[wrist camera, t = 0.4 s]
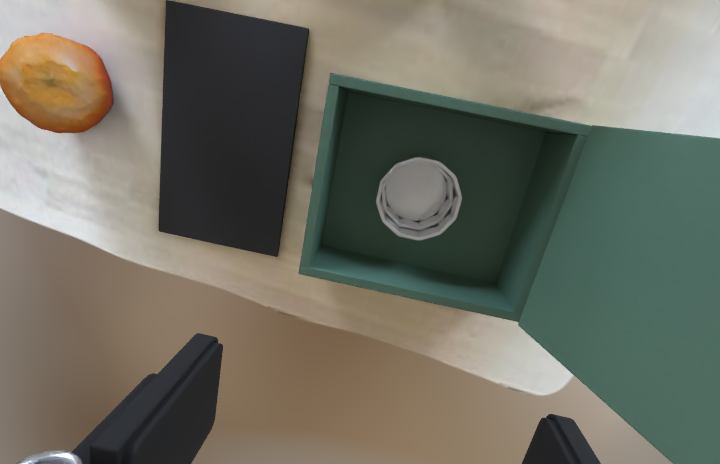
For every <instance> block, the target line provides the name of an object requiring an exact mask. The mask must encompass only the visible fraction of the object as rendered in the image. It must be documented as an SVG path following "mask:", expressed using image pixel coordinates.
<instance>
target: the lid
mask: <svg viewBox="0 0 720 464" xmlns="http://www.w3.org/2000/svg"><path fill="white" fill-rule="evenodd" d="M518 325H519V326H520V327H521V328H522V329H523V330H524V331H525V332H526V333H528V334H529V335H530V336H531V337H532V338H533V339H534V340H535V341H536V342H538V343H539V344H540V345H541V346H542V347H543V348H544V349H545V350H547V351H548V352H549V353H550V354H551V355H552V356H553V357H554V358H555V359H557V360H558V361H559V362H560V363H561V364H562V365H563V366H564V367H566V368H567V369H568V370H569V371H570V372H571V373H572V374H573V375H575V376H576V377H577V378H578V379H579V380H580V381H581V382H582V383H583V384H585V385H586V386H587V387H588V388H589V389H590V390H591V391H592V392H594V393H595V394H596V395H597V396H598V397H599V398H600V399H601V400H602V401H604V402H605V403H606V404H607V405H608V406H609V407H610V408H611V409H613V410H614V411H615V412H616V413H617V414H618V415H619V416H620V417H622V418H623V419H624V420H625V421H626V422H627V423H628V424H629V425H631V426H632V427H633V428H634V429H635V430H636V431H637V432H638V433H639V434H641V435H642V436H643V437H644V438H645V439H646V440H647V441H649V443H651V444H652V445H653V446H654V447H655V448H656V449H657V450H658V451H660V452H661V453H662V454H663V455H664V456H665V457H666V458H667V459H668V460H670V461H671V462H672V463H673V464H720V138H711V137H701V136H692V135H682V134H672V133H663V132H653V131H643V130H633V129H624V128H614V127H604V126H594V125H593V126H592V127H591V129H590V132H589V135H588V138H587V140H586V143H585V146H584V148H583V151H582V154H581V156H580V159H579V162H578V164H577V167H576V170H575V173H574V175H573V178H572V181H571V183H570V186H569V189H568V191H567V194H566V197H565V200H564V202H563V205H562V208H561V210H560V213H559V216H558V218H557V221H556V224H555V226H554V229H553V232H552V235H551V237H550V240H549V243H548V245H547V248H546V251H545V253H544V256H543V259H542V262H541V264H540V267H539V270H538V272H537V275H536V278H535V280H534V283H533V286H532V288H531V291H530V294H529V297H528V299H527V302H526V305H525V307H524V310H523V313H522V315H521V318H520V321H519V323H518Z"/></svg>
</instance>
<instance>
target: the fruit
mask: <svg viewBox="0 0 720 464" xmlns="http://www.w3.org/2000/svg"><path fill="white" fill-rule="evenodd" d="M0 85H1V88H2V90H3V92H4V94H5V95H6V97H7V99H8V100H9V102H10V103H11V105H12V106H13V107H14V108H15V110H16V111H17V112H18V113H19V114H20V115H21V116H22V117H24V118H26V119H27V120H29V121H30V122H31V123H32V124H34V125H35V126H37V127H39V128H41V129H45V130H48V131H52V132H55V133H79V132H84V131H87V130H88V129H90V128H92V127H93V126H95V125H96V124H98V123H99V122H100V121H101V120H102V119H103V118H104V117H105V115H106V114H107V113H108V112H109V110H110V109H111V107H112V105H113V92H112V86H111V81H110V78H109V75H108V73H107V71H106V68H105V66H104V63H103V61H102V59H101V58H100V56H99V55H98V54H97V53H96V52H95V51H93V50H92V49H90V48H89V47H87V46H84V45H81V44H79V43H76V42H74V41H71V40H68V39H65V38H62V37H59V36H56V35H53V34H49V33H40V34H38V35H35V36H25V37H22V38H19V39H17V40H16V41H14V42H13V43H12V44H11V46H10V48H9V49H8V51H7V52H6V53H5V54H4V55H3V56H2V57H1V59H0Z"/></svg>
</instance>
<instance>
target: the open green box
mask: <svg viewBox="0 0 720 464" xmlns="http://www.w3.org/2000/svg"><path fill="white" fill-rule="evenodd" d="M591 127H592V126H590V125H585V124H580V123H575V122H570V121H565V120H560V119H555V118H550V117H545V116H540V115H535V114H531V113H526V112H521V111H516V110H511V109H506V108H501V107H496V106H491V105H486V104H481V103H476V102H471V101H466V100H462V99H457V98H452V97H447V96H442V95H437V94H432V93H427V92H422V91H417V90H412V89H407V88H402V87H398V86H393V85H388V84H383V83H378V82H373V81H368V80H363V79H358V78H353V77H348V76H343V75H338V74H333V73H331V74H330V79H329V85H328V92H327V98H326V104H325V111H324V117H323V123H322V129H321V136H320V142H319V148H318V155H317V161H316V167H315V174H314V180H313V186H312V193H311V199H310V205H309V212H308V218H307V224H306V231H305V237H304V243H303V249H302V256H301V262H300V268H299V274H302V275H306V276H311V277H315V278H320V279H324V280H329V281H334V282H338V283H343V284H347V285H352V286H356V287H361V288H366V289H370V290H375V291H379V292H384V293H389V294H393V295H398V296H402V297H407V298H411V299H416V300H421V301H425V302H430V303H434V304H439V305H443V306H448V307H453V308H457V309H462V310H466V311H471V312H476V313H480V314H485V315H489V316H494V317H498V318H503V319H508V320H512V321H517V322H519V321H520V318H521V315H522V313H523V310H524V307H525V305H526V302H527V299H528V297H529V294H530V291H531V288H532V286H533V283H534V280H535V278H536V275H537V272H538V270H539V267H540V264H541V262H542V259H543V256H544V253H545V251H546V248H547V245H548V243H549V240H550V237H551V235H552V232H553V229H554V226H555V224H556V221H557V218H558V216H559V213H560V210H561V208H562V205H563V202H564V200H565V197H566V194H567V191H568V189H569V186H570V183H571V181H572V178H573V175H574V173H575V170H576V167H577V164H578V162H579V159H580V156H581V154H582V151H583V148H584V146H585V143H586V140H587V138H588V135H589V132H590V129H591ZM415 154H418V155H423V156H428V157H433V158H437V159H438V160H439V161H440V162H441V163H442V164H444V165H445V166H446V167H447V168H448V169H449V170H450V171H451V172H452V173H453V174H454V175H455V176H456V177H457V180H458V184H459V187H460V191H461V195H462V201H461V205H460V208H459V212H458V215H457V218H456V220H455V221H454V222H453V223H452V224H451V225H450V226H449V227H448V228H447V229H446V230H445V231H444V232H443V233H442V234H440V235H438V236H434V237H431V238H427V239H424V240H421V241H420V240H419V241H418V240H413V239H409V238H404V237H399V236H398V235H396V234H395V233H394V232H393V231H392V230H391V229H390V228H388V227H387V226H386V225H385V224H384V223H383V222H382V219H381V216H380V213H379V210H378V207H377V204H376V198H377V194H378V189H379V184H380V180H381V177H382V175H383V174H384V173H385V172H386V171H387V170H388V169H389V167H390V166H391V165H392V164H393V163H394V162H395V161H397V160H400V159H403V158H406V157H409V156H412V155H415ZM445 172H446V171H445ZM446 174H447V175H448V176H449V177H450V175H449V174H448V173H447V172H446ZM444 178H445V177H444ZM445 180H446V178H445ZM385 188H386V187H385ZM453 196H454V190H453ZM446 197H447V195H446ZM381 200H382V193H381ZM382 203H383V202H382ZM387 204H388V202H387ZM449 210H450V209H449ZM448 212H449V211H448ZM448 212H447V213H448ZM386 214H387V213H386ZM387 215H388V214H387ZM399 217H400V216H399ZM435 225H436V224H435Z"/></svg>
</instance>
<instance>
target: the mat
mask: <svg viewBox="0 0 720 464" xmlns="http://www.w3.org/2000/svg"><path fill="white" fill-rule="evenodd" d="M308 34H309V29H308V28H303V27H298V26H293V25H288V24H283V23H278V22H273V21H268V20H263V19H258V18H253V17H248V16H243V15H238V14H233V13H228V12H223V11H218V10H213V9H208V8H203V7H198V6H193V5H188V4H183V3H178V2H173V1H168V0H166V16H165V47H164V78H163V110H162V141H161V172H160V203H159V231H160V232H164V233H169V234H174V235H178V236H183V237H187V238H192V239H197V240H201V241H206V242H210V243H215V244H220V245H224V246H229V247H233V248H238V249H243V250H247V251H252V252H256V253H261V254H266V255H270V256H275V257H277V256H278V252H279V244H280V237H281V230H282V223H283V215H284V208H285V201H286V194H287V186H288V179H289V172H290V164H291V157H292V150H293V143H294V135H295V128H296V121H297V114H298V106H299V99H300V92H301V85H302V77H303V70H304V63H305V55H306V48H307V41H308Z"/></svg>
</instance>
